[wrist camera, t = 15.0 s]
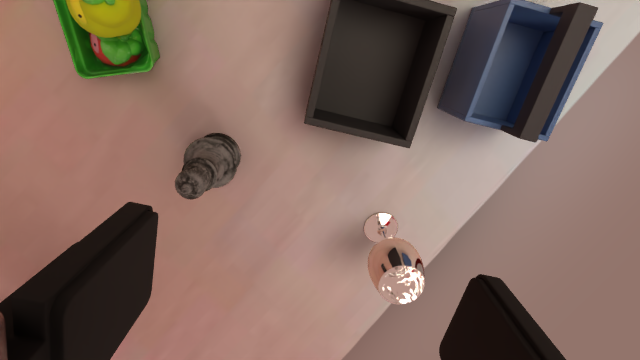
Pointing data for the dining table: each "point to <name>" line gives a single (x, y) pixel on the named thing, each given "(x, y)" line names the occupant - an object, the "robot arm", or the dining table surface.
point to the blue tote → (519, 65)
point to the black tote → (377, 67)
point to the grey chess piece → (207, 165)
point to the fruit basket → (108, 36)
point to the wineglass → (393, 261)
